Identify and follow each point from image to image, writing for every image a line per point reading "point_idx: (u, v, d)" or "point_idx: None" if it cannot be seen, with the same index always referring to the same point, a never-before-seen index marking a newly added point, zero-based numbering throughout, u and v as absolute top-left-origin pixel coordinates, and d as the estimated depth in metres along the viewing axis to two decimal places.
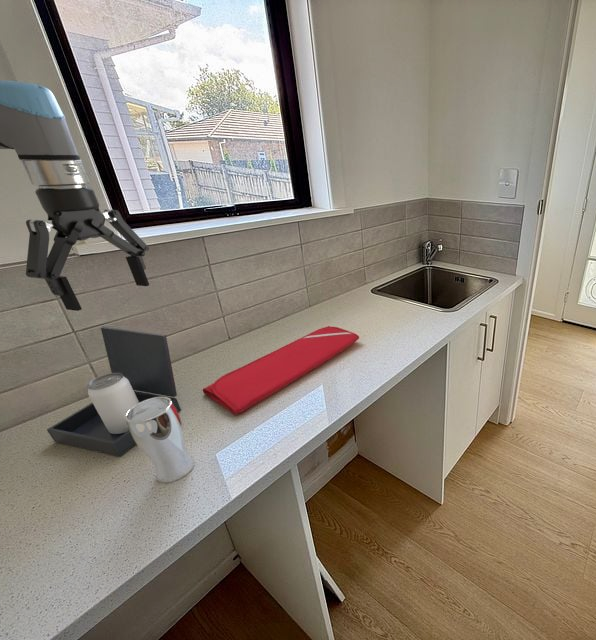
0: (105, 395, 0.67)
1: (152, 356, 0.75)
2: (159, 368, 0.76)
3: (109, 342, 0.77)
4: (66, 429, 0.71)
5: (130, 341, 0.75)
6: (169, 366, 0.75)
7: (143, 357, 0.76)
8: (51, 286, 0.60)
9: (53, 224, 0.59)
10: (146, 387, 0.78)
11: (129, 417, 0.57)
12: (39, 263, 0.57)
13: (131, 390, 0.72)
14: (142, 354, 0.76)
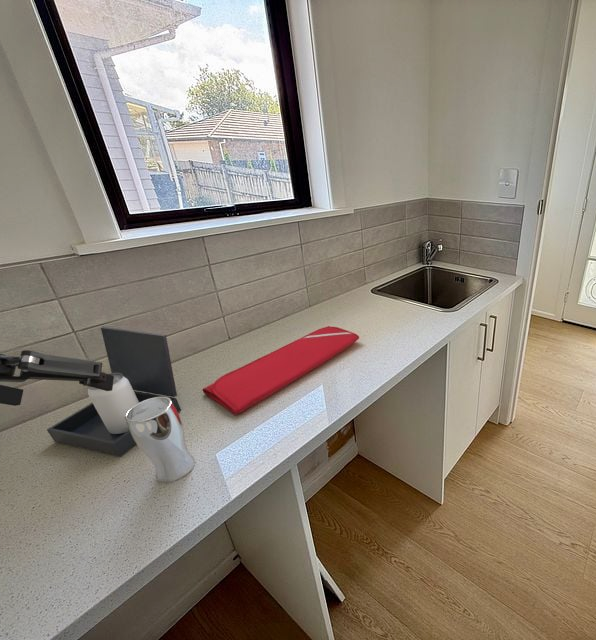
0: (105, 395, 0.67)
1: (152, 356, 0.75)
2: (159, 368, 0.76)
3: (109, 342, 0.77)
4: (66, 429, 0.71)
5: (130, 341, 0.75)
6: (169, 366, 0.75)
7: (143, 357, 0.76)
8: None
9: None
10: (146, 387, 0.78)
11: (129, 417, 0.57)
12: None
13: (131, 390, 0.72)
14: (142, 354, 0.76)
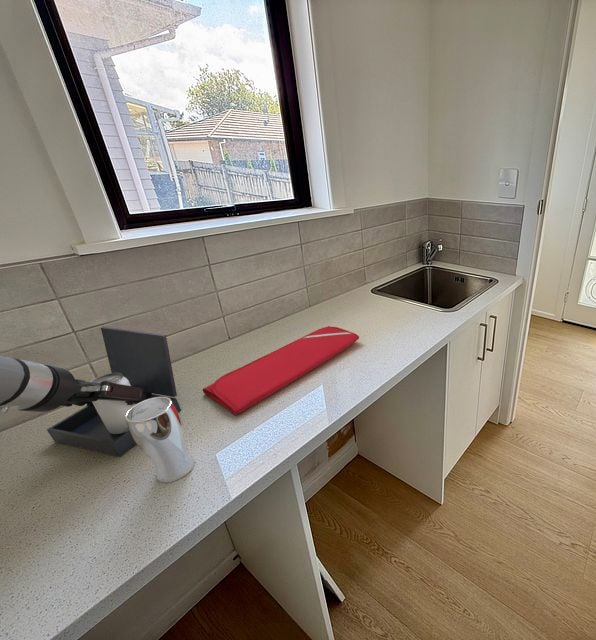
0: None
1: (152, 356, 0.75)
2: (159, 368, 0.76)
3: (109, 342, 0.77)
4: (66, 429, 0.71)
5: (130, 341, 0.75)
6: (169, 366, 0.75)
7: (143, 357, 0.76)
8: None
9: None
10: (146, 387, 0.78)
11: (129, 417, 0.57)
12: None
13: None
14: (142, 354, 0.76)
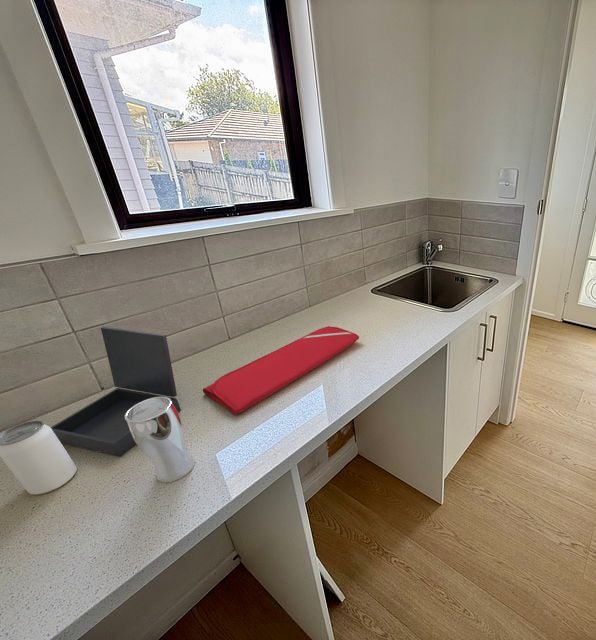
0: (17, 451, 0.55)
1: (152, 356, 0.75)
2: (159, 368, 0.76)
3: (109, 342, 0.77)
4: (66, 429, 0.71)
5: (130, 341, 0.75)
6: (169, 366, 0.75)
7: (143, 357, 0.76)
8: None
9: None
10: (146, 387, 0.78)
11: (129, 417, 0.57)
12: None
13: (54, 441, 0.59)
14: (142, 354, 0.76)
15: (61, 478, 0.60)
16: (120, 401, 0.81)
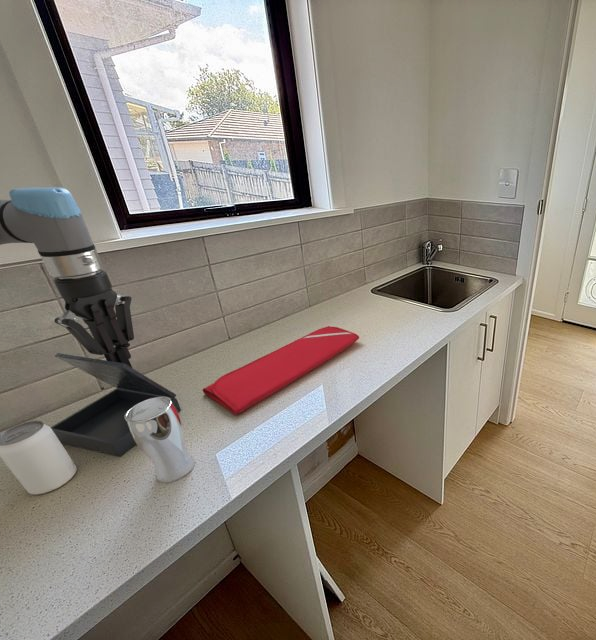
0: (17, 451, 0.55)
1: (127, 376, 0.70)
2: (142, 383, 0.72)
3: (75, 365, 0.71)
4: (66, 429, 0.71)
5: (94, 366, 0.69)
6: (150, 382, 0.71)
7: (119, 376, 0.71)
8: (108, 359, 0.71)
9: (74, 313, 0.64)
10: (143, 391, 0.78)
11: (129, 417, 0.57)
12: (93, 346, 0.67)
13: (54, 441, 0.59)
14: (116, 374, 0.71)
15: (61, 478, 0.60)
16: (120, 401, 0.81)
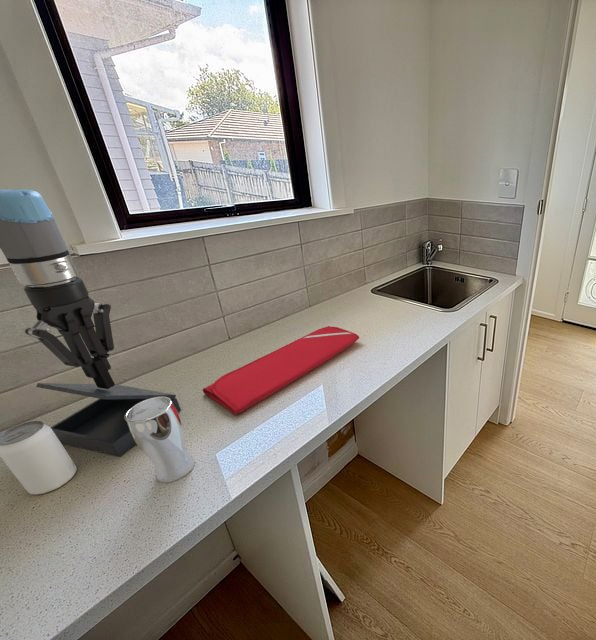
0: (17, 451, 0.55)
1: None
2: None
3: None
4: (66, 429, 0.71)
5: None
6: (143, 397, 0.70)
7: None
8: (85, 370, 0.67)
9: (46, 323, 0.60)
10: None
11: (129, 417, 0.57)
12: (69, 358, 0.63)
13: (54, 441, 0.59)
14: None
15: (61, 478, 0.60)
16: (120, 401, 0.81)
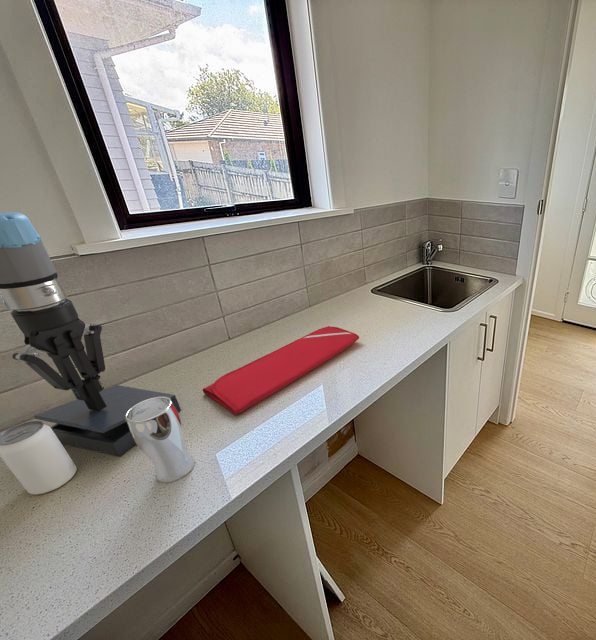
0: (17, 451, 0.55)
1: None
2: None
3: None
4: (66, 429, 0.71)
5: None
6: None
7: None
8: (76, 393, 0.66)
9: (34, 347, 0.59)
10: None
11: (129, 417, 0.57)
12: (58, 382, 0.62)
13: (54, 441, 0.59)
14: None
15: (61, 478, 0.60)
16: None
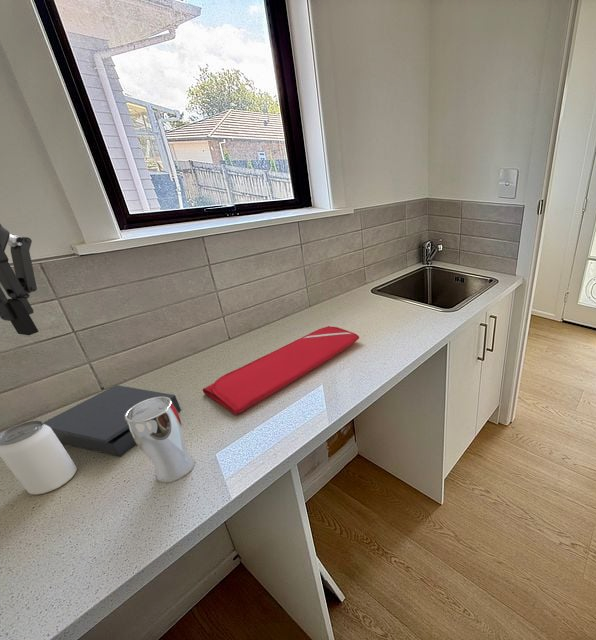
0: (17, 451, 0.55)
1: None
2: None
3: None
4: None
5: None
6: None
7: None
8: None
9: None
10: None
11: (129, 417, 0.57)
12: None
13: (54, 441, 0.59)
14: None
15: (61, 478, 0.60)
16: None
